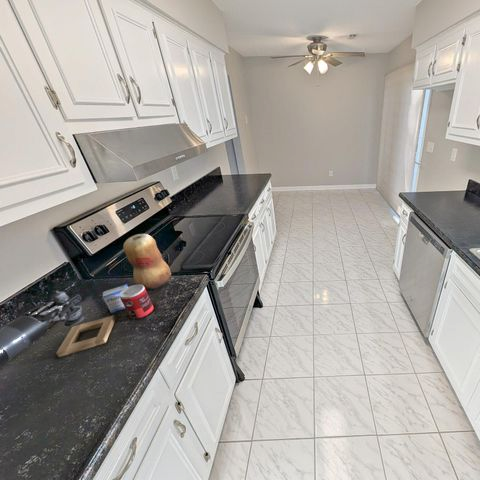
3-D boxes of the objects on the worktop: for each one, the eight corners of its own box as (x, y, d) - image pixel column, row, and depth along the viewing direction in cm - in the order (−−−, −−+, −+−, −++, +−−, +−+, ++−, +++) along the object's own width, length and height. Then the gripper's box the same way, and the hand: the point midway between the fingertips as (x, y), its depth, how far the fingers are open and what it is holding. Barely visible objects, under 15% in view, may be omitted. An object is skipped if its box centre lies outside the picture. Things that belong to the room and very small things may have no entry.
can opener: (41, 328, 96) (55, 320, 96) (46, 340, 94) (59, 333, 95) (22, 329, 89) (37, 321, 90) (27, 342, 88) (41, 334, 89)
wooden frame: (59, 358, 81) (55, 353, 80) (75, 331, 92) (72, 326, 91) (106, 344, 86) (103, 339, 84) (116, 320, 96) (113, 315, 95)
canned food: (129, 313, 99) (117, 290, 94) (152, 303, 104) (142, 281, 99) (131, 323, 94) (119, 300, 89) (156, 313, 98) (145, 290, 93)
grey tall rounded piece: (60, 322, 82) (40, 292, 77) (83, 311, 87) (65, 282, 81) (66, 329, 79) (45, 298, 74) (89, 317, 84) (71, 288, 78)
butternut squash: (138, 299, 106) (113, 247, 95) (141, 283, 117) (118, 235, 106) (174, 288, 112) (154, 238, 101) (174, 274, 123) (156, 227, 112)
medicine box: (111, 314, 99) (101, 297, 95) (112, 308, 102) (102, 291, 98) (135, 305, 103) (126, 288, 99) (134, 300, 106) (126, 283, 102)
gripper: (29, 327, 65) (88, 286, 81) (-19, 327, 66) (48, 287, 82) (45, 348, 68) (98, 305, 84) (-1, 348, 70) (60, 305, 85)
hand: (73, 296), depth 83 cm, fingers closed on grey tall rounded piece, 3 cm apart
